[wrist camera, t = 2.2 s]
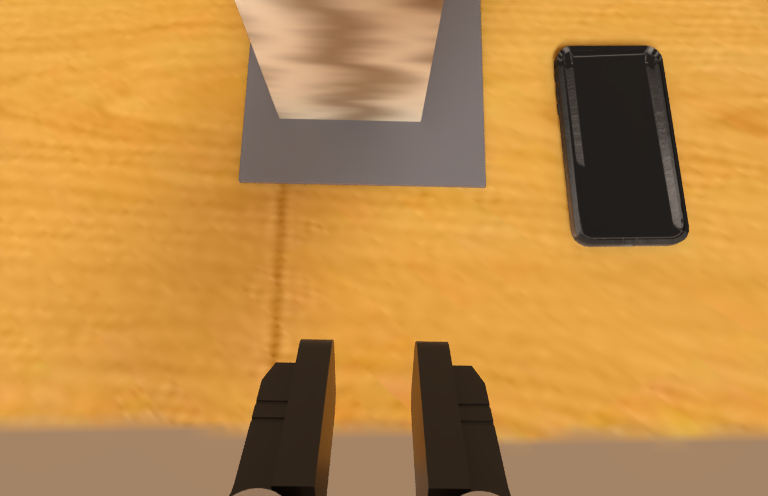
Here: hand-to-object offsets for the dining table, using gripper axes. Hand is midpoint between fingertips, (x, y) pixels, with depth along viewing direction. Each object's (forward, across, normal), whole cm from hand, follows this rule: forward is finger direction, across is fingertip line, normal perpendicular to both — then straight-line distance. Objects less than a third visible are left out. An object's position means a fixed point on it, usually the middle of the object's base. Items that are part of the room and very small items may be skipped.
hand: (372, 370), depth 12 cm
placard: (+28, +2, +2) cm, 28 cm away
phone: (+27, -17, +5) cm, 32 cm away
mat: (+32, +1, -1) cm, 32 cm away
